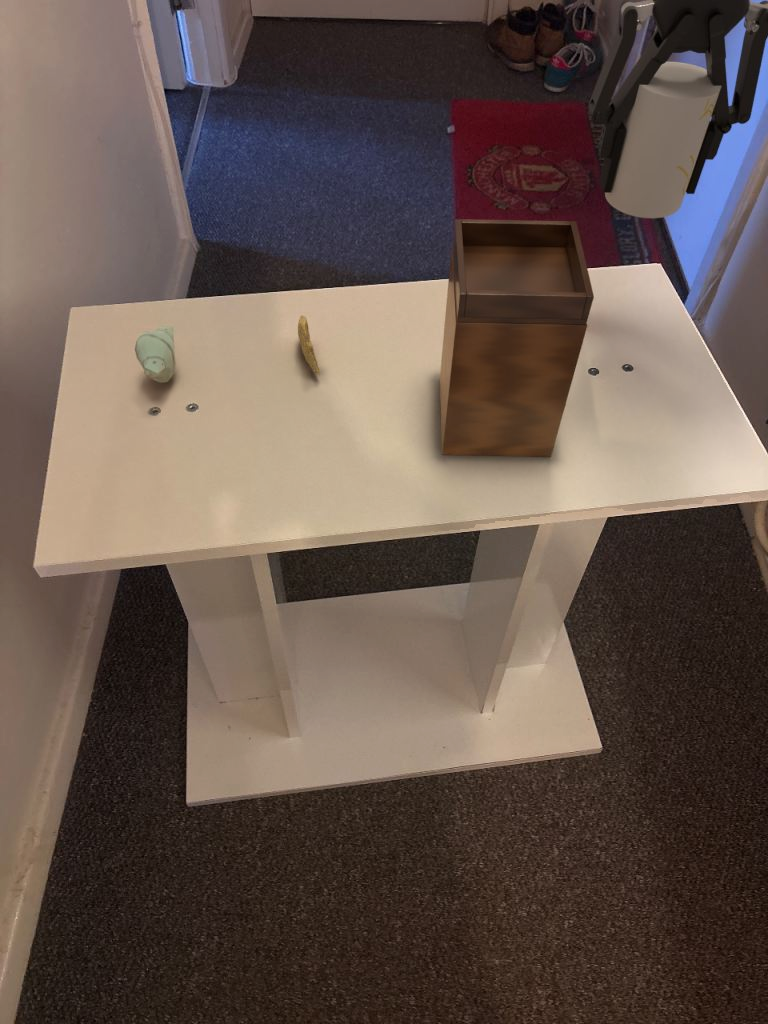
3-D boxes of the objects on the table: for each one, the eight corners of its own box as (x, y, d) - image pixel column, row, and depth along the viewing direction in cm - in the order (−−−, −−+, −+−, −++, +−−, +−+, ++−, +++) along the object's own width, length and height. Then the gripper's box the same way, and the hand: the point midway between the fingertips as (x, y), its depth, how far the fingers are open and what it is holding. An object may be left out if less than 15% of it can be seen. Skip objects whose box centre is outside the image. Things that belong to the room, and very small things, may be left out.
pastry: (294, 338, 94) (291, 306, 90) (306, 336, 95) (303, 303, 91) (310, 385, 89) (307, 353, 85) (323, 383, 90) (320, 350, 86)
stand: (539, 381, 90) (570, 248, 76) (551, 456, 83) (587, 325, 69) (439, 379, 90) (451, 246, 76) (442, 454, 83) (455, 323, 69)
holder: (569, 249, 76) (576, 221, 73) (586, 325, 69) (594, 296, 66) (452, 247, 76) (455, 218, 73) (456, 322, 69) (459, 294, 66)
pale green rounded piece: (172, 404, 87) (159, 359, 82) (138, 402, 87) (122, 357, 82) (187, 357, 92) (175, 312, 87) (154, 356, 92) (140, 311, 87)
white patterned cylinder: (684, 221, 79) (726, 101, 69) (605, 214, 80) (636, 95, 70) (678, 181, 84) (716, 64, 74) (604, 175, 84) (632, 59, 75)
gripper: (833, -87, 65) (735, 170, 83) (590, -89, 65) (544, 167, 83) (865, -58, 60) (754, 207, 78) (603, -61, 60) (552, 203, 78)
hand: (646, 186), depth 81 cm, fingers closed on white patterned cylinder, 8 cm apart
